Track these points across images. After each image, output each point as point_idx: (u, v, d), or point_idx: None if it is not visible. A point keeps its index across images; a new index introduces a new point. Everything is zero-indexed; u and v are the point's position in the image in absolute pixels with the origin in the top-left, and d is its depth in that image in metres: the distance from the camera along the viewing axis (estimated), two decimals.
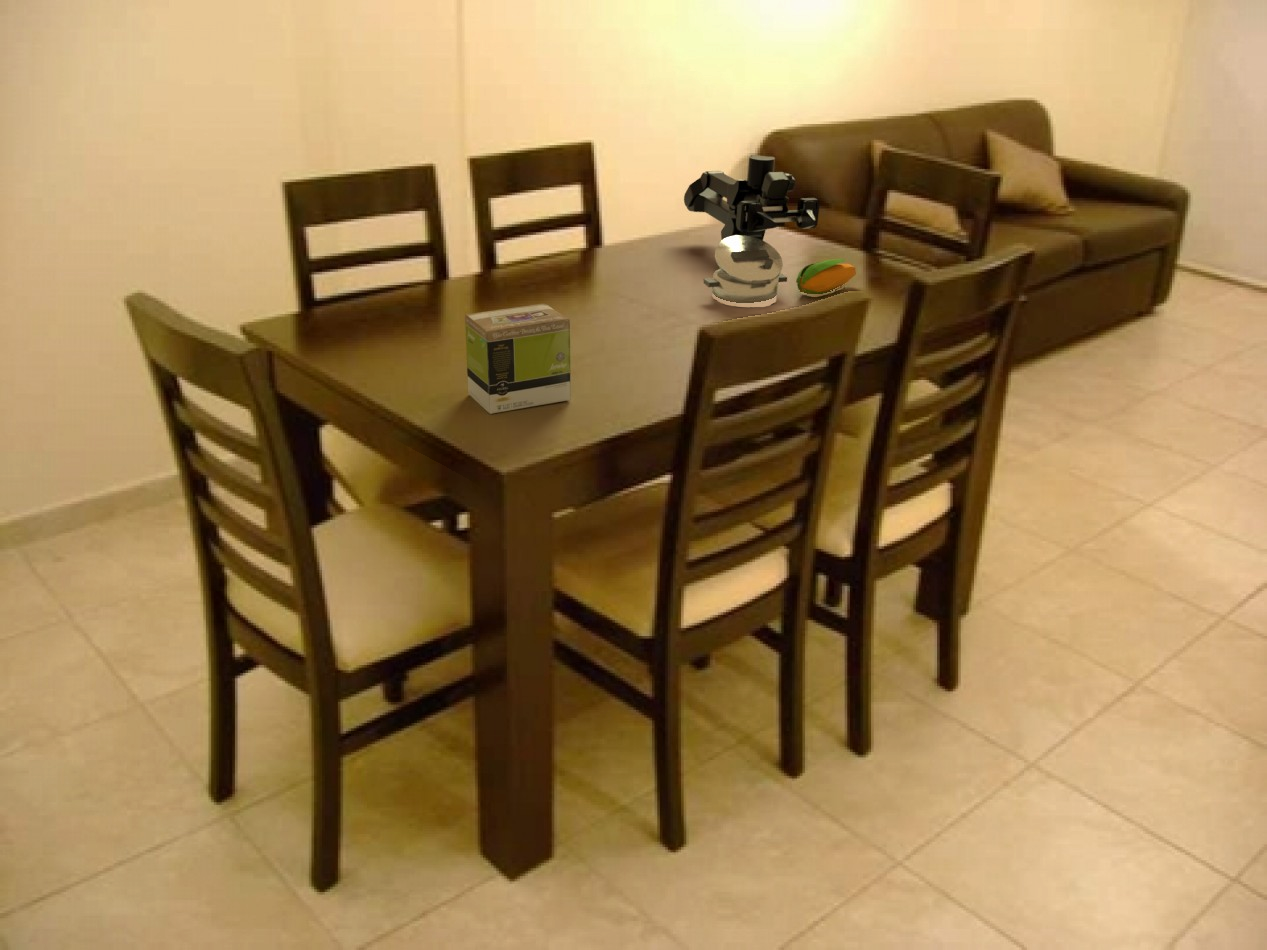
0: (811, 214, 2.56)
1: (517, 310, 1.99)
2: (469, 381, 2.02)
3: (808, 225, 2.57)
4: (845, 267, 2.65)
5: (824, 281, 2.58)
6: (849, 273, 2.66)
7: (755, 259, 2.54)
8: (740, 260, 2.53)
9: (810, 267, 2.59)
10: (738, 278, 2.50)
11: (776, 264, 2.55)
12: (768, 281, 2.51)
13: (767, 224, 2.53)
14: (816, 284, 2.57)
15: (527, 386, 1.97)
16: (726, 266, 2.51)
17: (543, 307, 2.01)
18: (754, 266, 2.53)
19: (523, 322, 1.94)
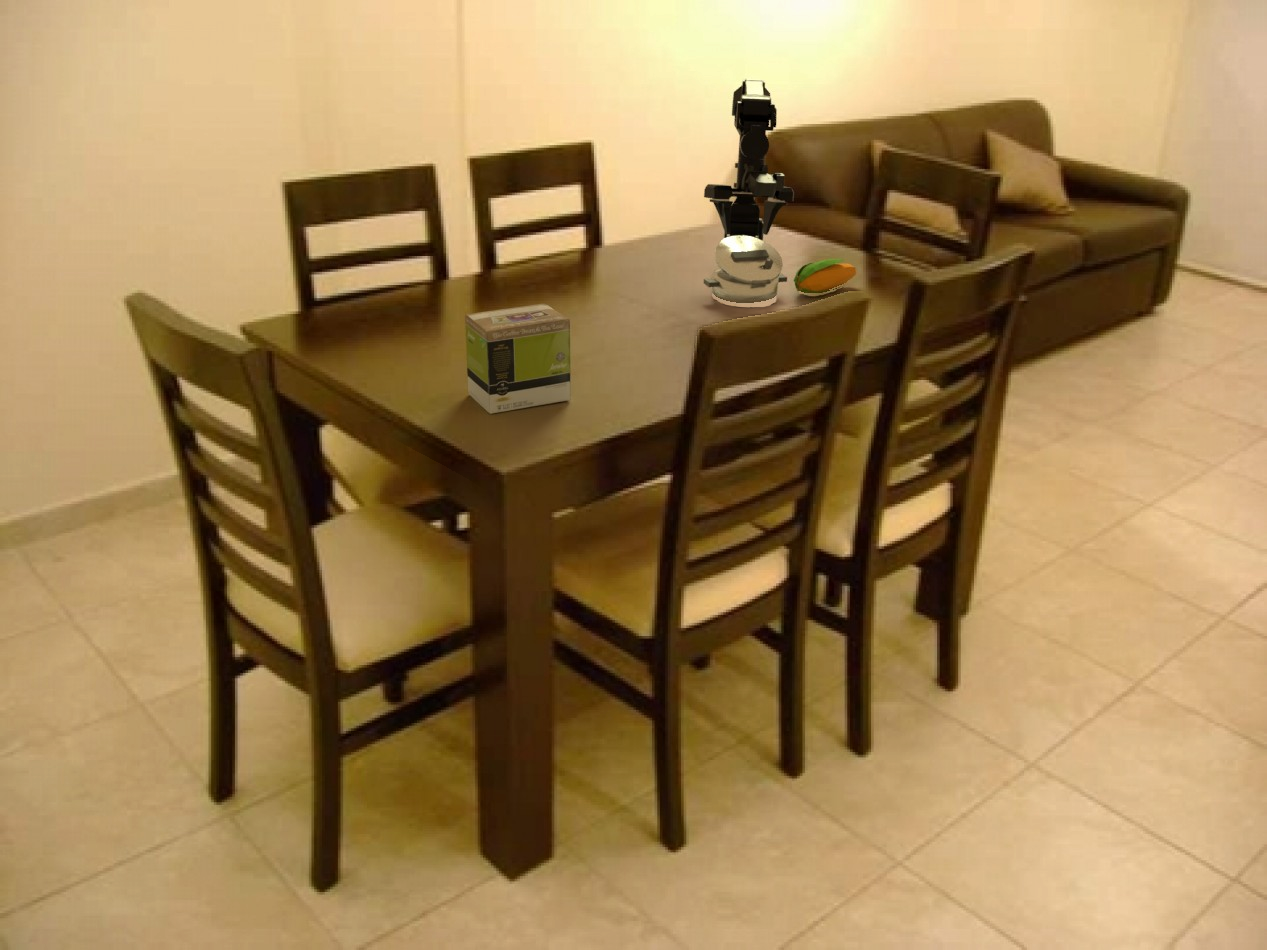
0: (771, 220, 2.56)
1: (517, 310, 1.99)
2: (469, 380, 2.02)
3: (763, 221, 2.58)
4: (844, 267, 2.65)
5: (821, 280, 2.59)
6: (849, 272, 2.66)
7: (755, 259, 2.54)
8: (740, 260, 2.53)
9: (808, 266, 2.60)
10: (738, 278, 2.50)
11: (776, 264, 2.55)
12: (768, 281, 2.51)
13: (723, 223, 2.54)
14: (813, 283, 2.58)
15: (527, 386, 1.97)
16: (726, 266, 2.51)
17: (543, 307, 2.01)
18: (754, 266, 2.53)
19: (523, 322, 1.94)
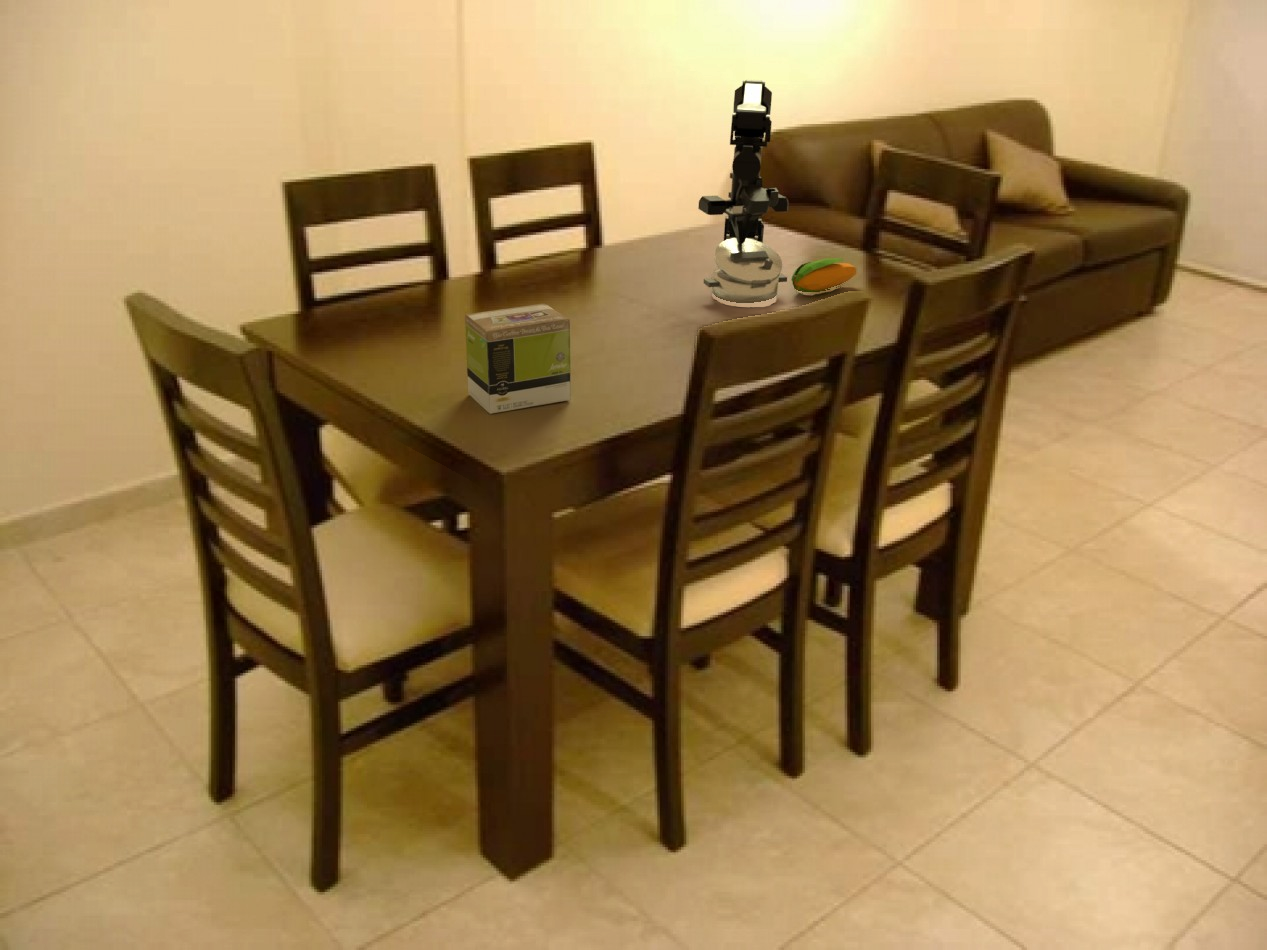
0: (747, 231, 2.56)
1: (517, 310, 1.99)
2: (469, 380, 2.02)
3: None
4: (843, 267, 2.65)
5: (819, 280, 2.59)
6: (848, 272, 2.66)
7: (755, 260, 2.55)
8: (740, 261, 2.53)
9: (805, 265, 2.60)
10: (738, 278, 2.50)
11: (776, 265, 2.55)
12: (768, 281, 2.51)
13: (736, 233, 2.57)
14: (810, 282, 2.59)
15: (527, 386, 1.97)
16: (726, 267, 2.52)
17: (543, 307, 2.01)
18: (754, 266, 2.53)
19: (523, 322, 1.94)
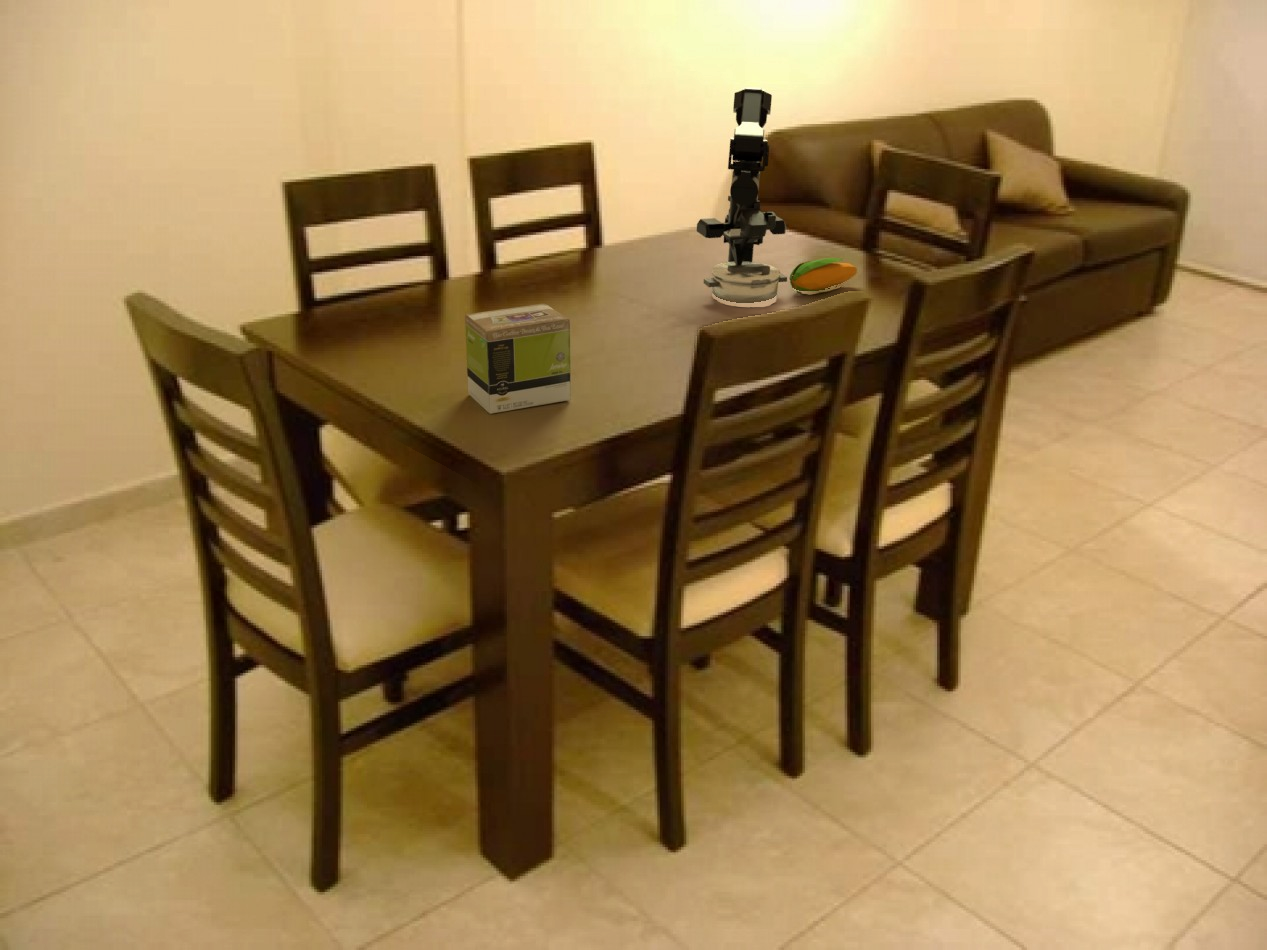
0: (744, 253, 2.58)
1: (517, 310, 1.99)
2: (469, 380, 2.02)
3: None
4: (843, 266, 2.66)
5: (816, 279, 2.60)
6: (847, 272, 2.66)
7: (752, 270, 2.56)
8: (737, 271, 2.55)
9: (803, 264, 2.61)
10: (737, 281, 2.51)
11: (774, 272, 2.56)
12: (768, 280, 2.51)
13: (734, 255, 2.59)
14: (808, 281, 2.59)
15: (527, 386, 1.97)
16: (724, 275, 2.53)
17: (543, 307, 2.01)
18: (752, 273, 2.55)
19: (523, 322, 1.94)
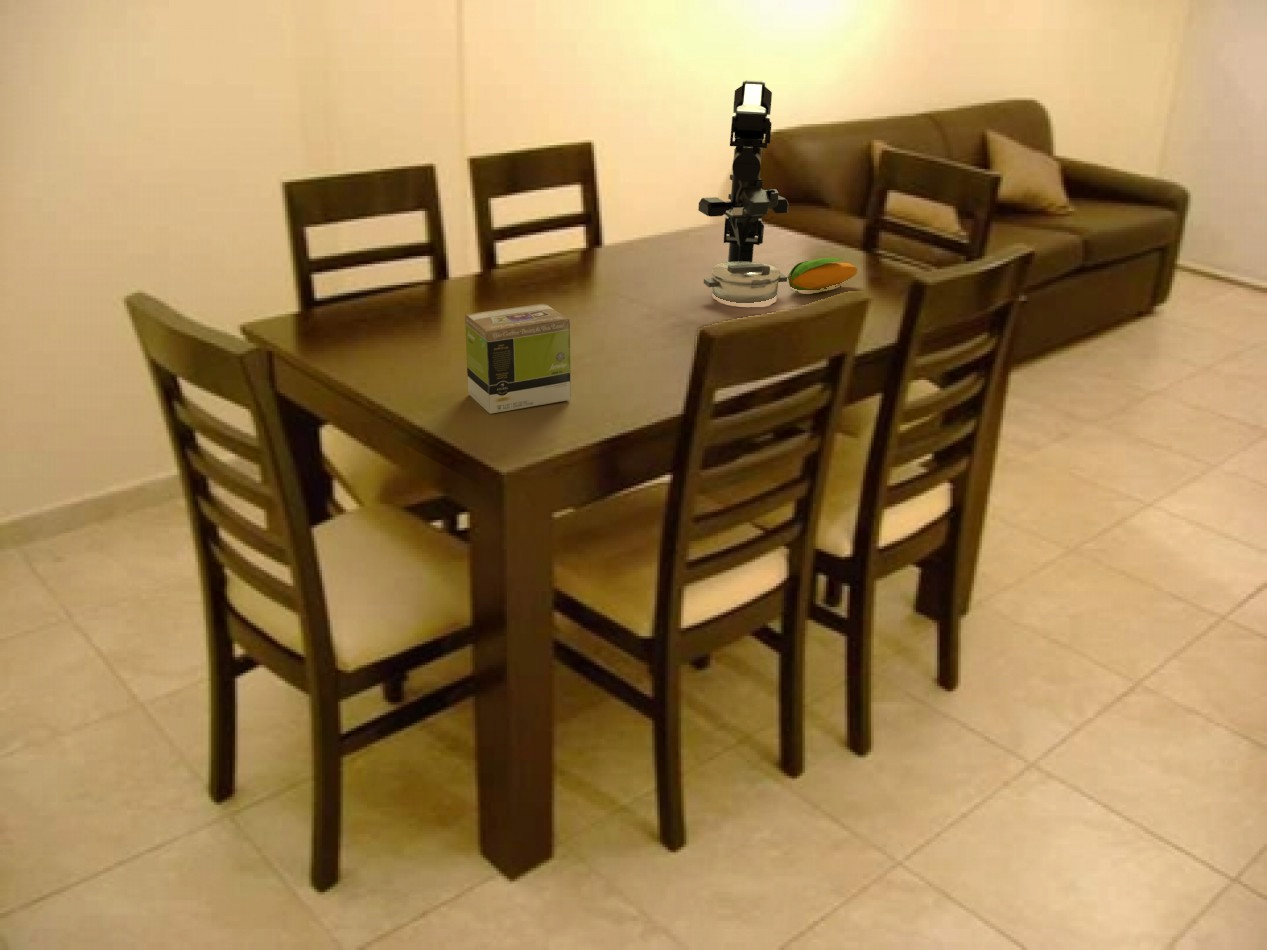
0: (747, 232, 2.56)
1: (517, 310, 1.99)
2: (469, 380, 2.02)
3: None
4: (842, 266, 2.66)
5: (814, 278, 2.60)
6: (847, 272, 2.66)
7: (752, 270, 2.56)
8: (737, 271, 2.55)
9: (802, 264, 2.61)
10: (737, 281, 2.51)
11: (774, 272, 2.56)
12: (768, 280, 2.51)
13: (736, 234, 2.57)
14: (806, 281, 2.59)
15: (527, 386, 1.97)
16: (724, 275, 2.53)
17: (543, 307, 2.01)
18: (752, 273, 2.55)
19: (523, 322, 1.94)
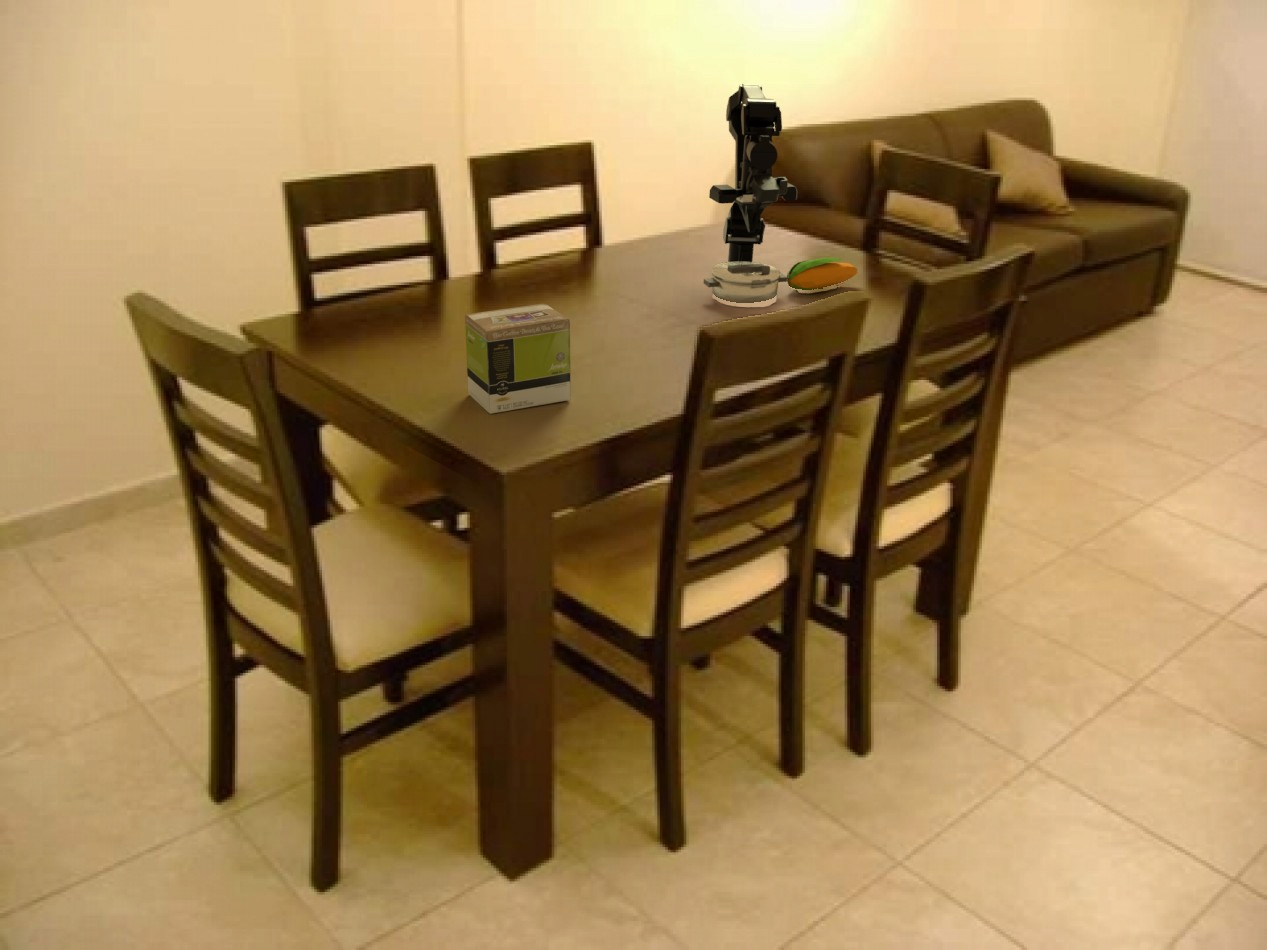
0: (756, 219, 2.62)
1: (517, 310, 1.99)
2: (469, 380, 2.02)
3: None
4: (842, 266, 2.66)
5: (813, 278, 2.60)
6: (846, 272, 2.66)
7: (752, 270, 2.56)
8: (737, 271, 2.55)
9: (801, 263, 2.62)
10: (737, 281, 2.51)
11: (774, 272, 2.56)
12: (768, 280, 2.51)
13: (746, 221, 2.63)
14: (804, 280, 2.60)
15: (527, 386, 1.97)
16: (724, 275, 2.53)
17: (543, 307, 2.01)
18: (752, 273, 2.55)
19: (523, 322, 1.94)
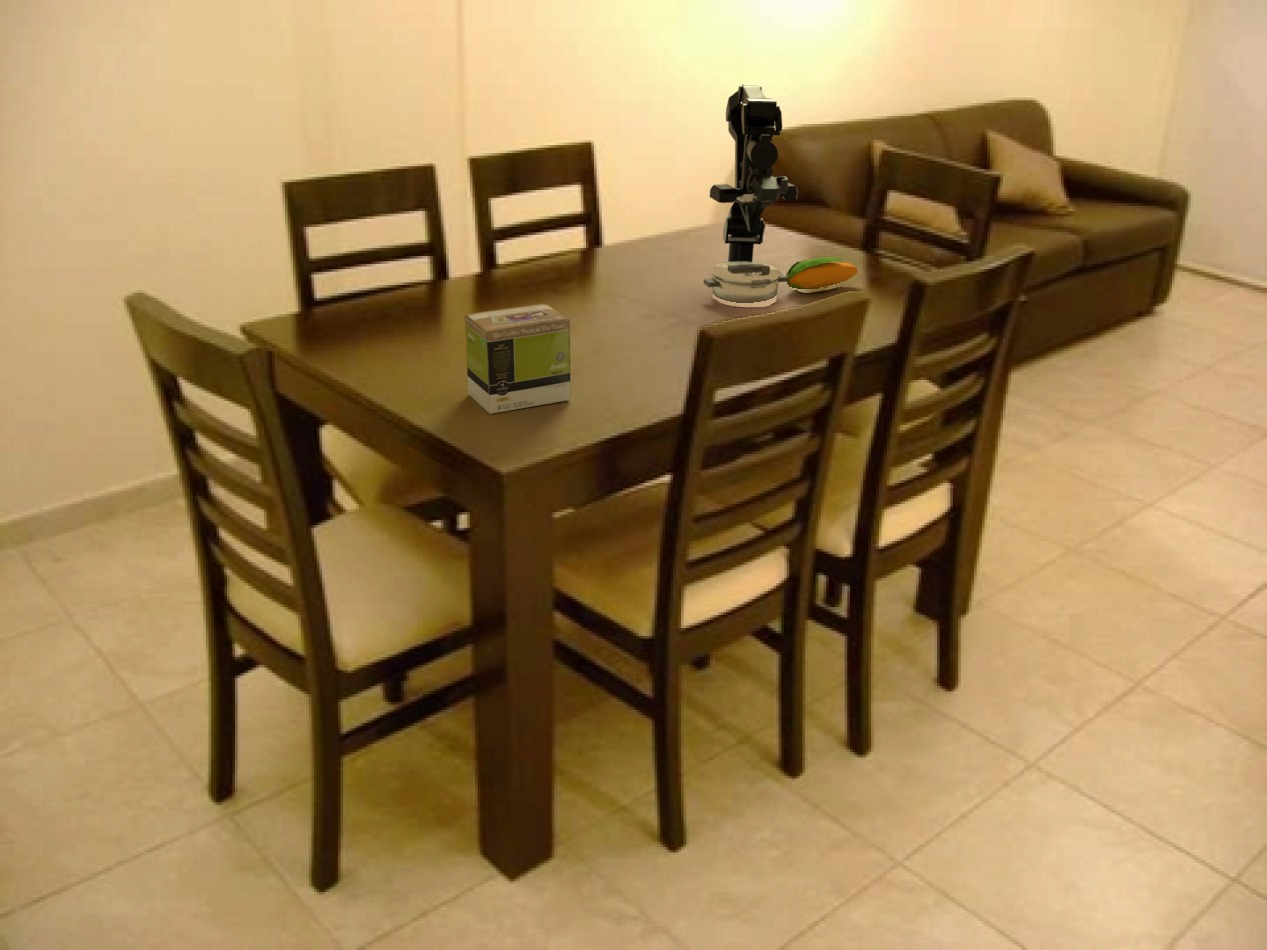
0: (757, 218, 2.62)
1: (517, 310, 1.99)
2: (469, 380, 2.02)
3: None
4: (841, 266, 2.66)
5: (812, 277, 2.61)
6: (846, 272, 2.67)
7: (752, 270, 2.56)
8: (737, 271, 2.55)
9: (800, 263, 2.62)
10: (737, 281, 2.51)
11: (774, 272, 2.56)
12: (768, 280, 2.51)
13: (746, 221, 2.63)
14: (803, 280, 2.60)
15: (527, 386, 1.97)
16: (724, 275, 2.53)
17: (543, 307, 2.01)
18: (752, 273, 2.55)
19: (523, 322, 1.94)
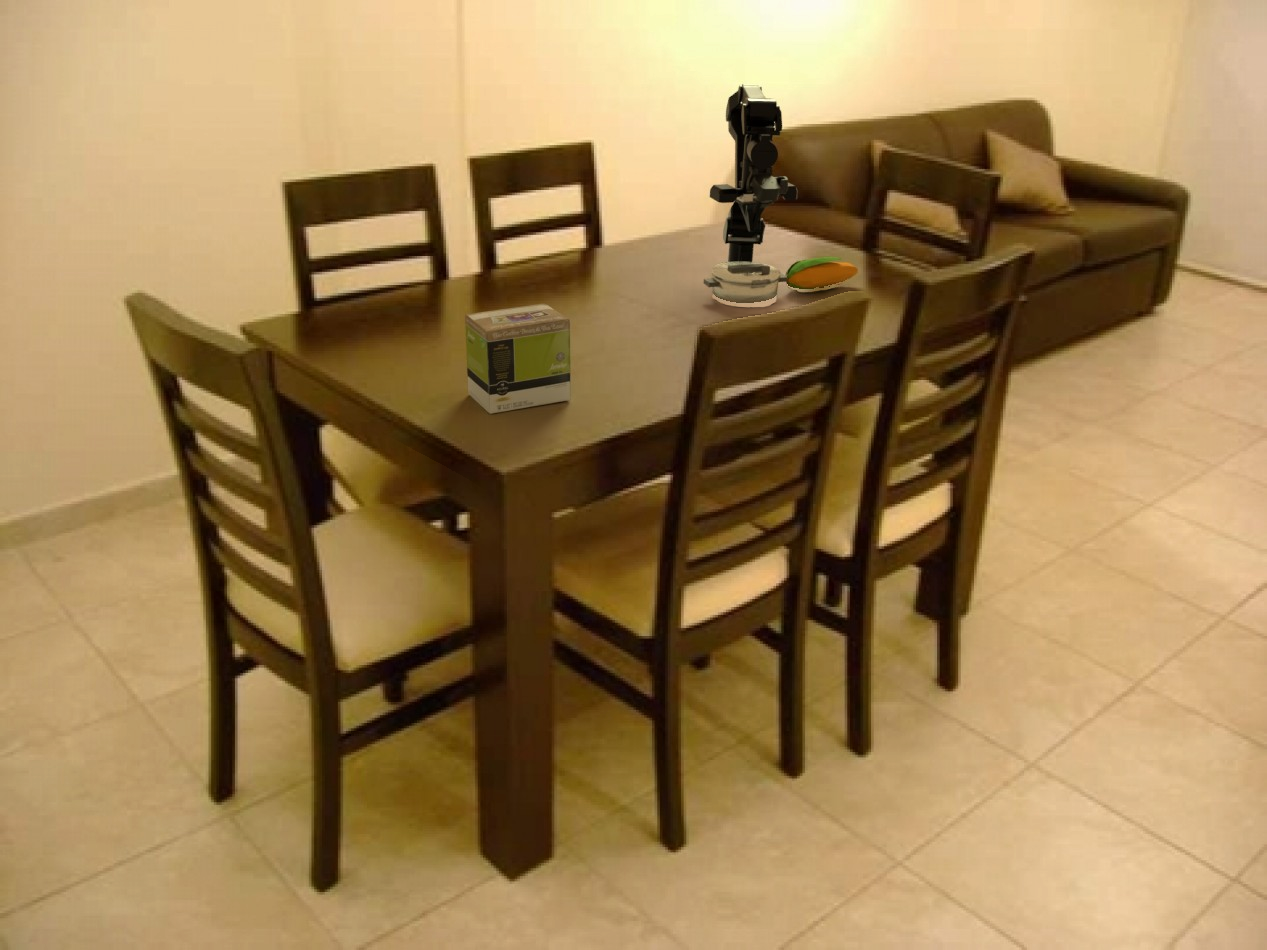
0: (757, 218, 2.62)
1: (517, 310, 1.99)
2: (469, 380, 2.02)
3: None
4: (841, 266, 2.66)
5: (811, 277, 2.61)
6: (846, 272, 2.67)
7: (752, 270, 2.56)
8: (737, 271, 2.55)
9: (799, 262, 2.62)
10: (737, 281, 2.51)
11: (774, 272, 2.56)
12: (768, 280, 2.51)
13: (746, 221, 2.63)
14: (802, 279, 2.60)
15: (527, 386, 1.97)
16: (724, 275, 2.53)
17: (543, 307, 2.01)
18: (752, 273, 2.55)
19: (523, 322, 1.94)
